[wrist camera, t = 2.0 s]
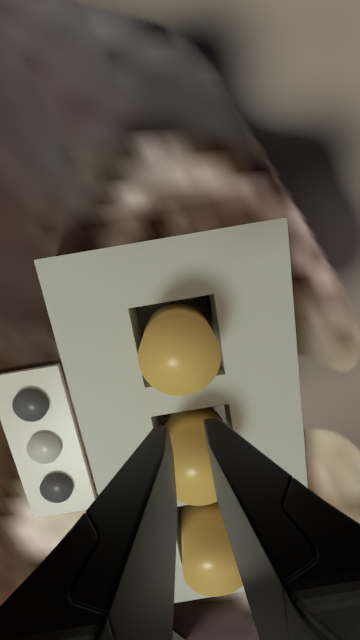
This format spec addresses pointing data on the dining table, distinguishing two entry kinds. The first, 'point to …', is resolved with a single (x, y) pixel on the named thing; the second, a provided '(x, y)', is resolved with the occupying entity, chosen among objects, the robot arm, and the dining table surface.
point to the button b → (192, 456)
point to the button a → (179, 351)
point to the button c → (207, 552)
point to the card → (45, 440)
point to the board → (229, 328)
